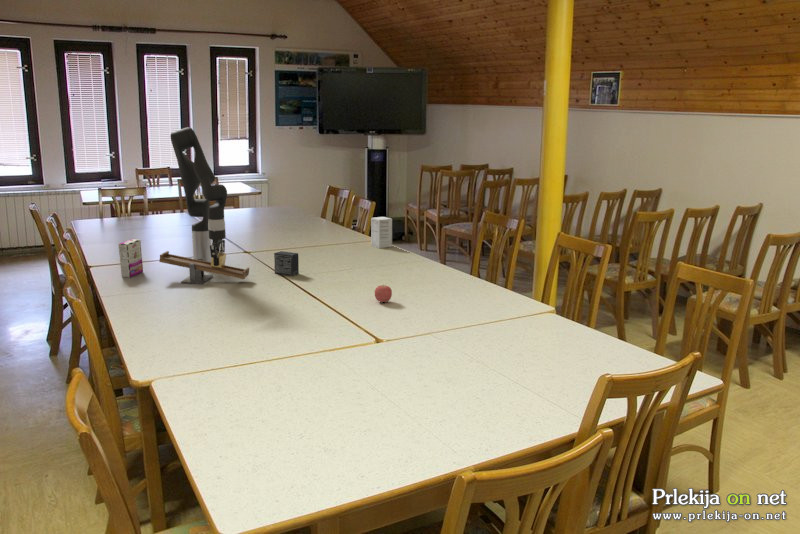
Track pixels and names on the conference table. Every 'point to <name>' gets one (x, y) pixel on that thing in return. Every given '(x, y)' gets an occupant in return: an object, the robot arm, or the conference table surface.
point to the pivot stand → (196, 276)
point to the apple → (383, 293)
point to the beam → (203, 265)
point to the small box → (286, 263)
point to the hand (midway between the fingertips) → (218, 264)
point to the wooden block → (221, 261)
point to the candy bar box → (130, 258)
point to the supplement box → (381, 232)
